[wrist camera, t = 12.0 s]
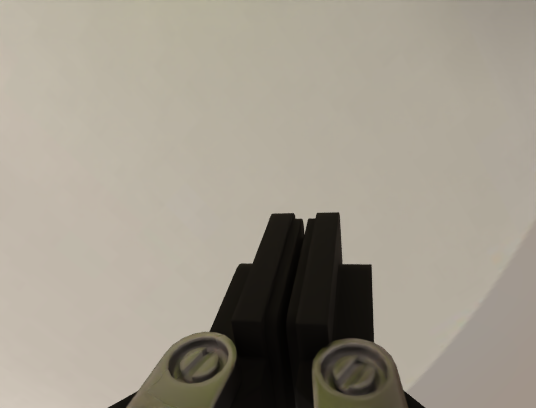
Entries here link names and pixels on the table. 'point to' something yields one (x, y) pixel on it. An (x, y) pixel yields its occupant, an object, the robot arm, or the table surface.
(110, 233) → the table surface
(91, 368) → the table surface
